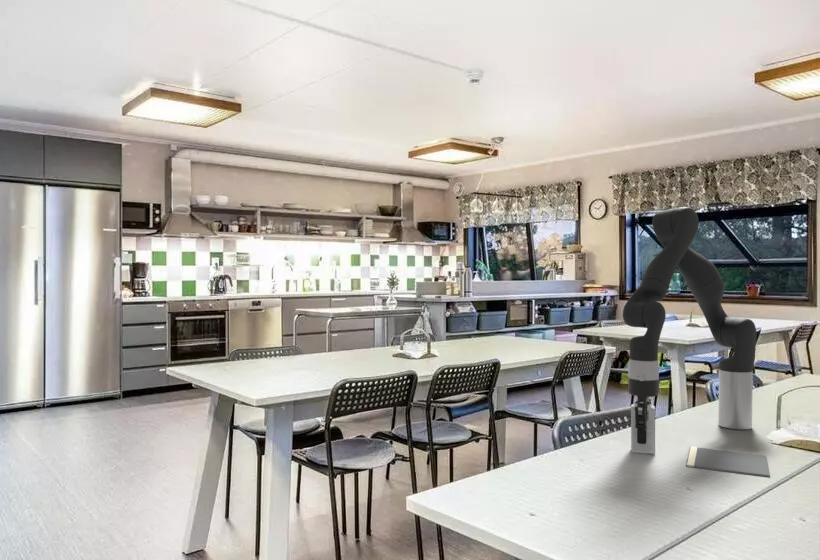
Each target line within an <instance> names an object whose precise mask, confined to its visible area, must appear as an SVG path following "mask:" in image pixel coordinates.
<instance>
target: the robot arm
mask: <svg viewBox="0 0 820 560" xmlns="http://www.w3.org/2000/svg"><path fill="white" fill-rule="evenodd" d="M651 220H652V221H651V225H652V229H653V232H654V234H655V237H656V238H657V240H658V242H659V243H660V244H661V245H662V247H663V249H662V250H661V251H660V252H659V253H658V254H657V255H656V256H655V257H654V258H653V259H652V260H651V262H650V263H649V265H648V266H647V267H646V269H645V271H644V274H643V277H642V279H641V281H640V285H639V286H638V287H637V288H636V290H635V291H634V292H633V294H631V296H630V297H629V298H628V300H627V301H626V302H625V304H624V307H623V310H622V319H623V322H624V323H625V324H626V325H627V326H628V327H632V328H645V329H646V331H645V334H643V335H639V336H634V337H632V338H630V341H629V362H628V371H627V372H628V378H627V379H628V383H627V385H628V387H627V389H628V390H627V391H628V394H629V395H632V396H636V397H637V399H636V400H635V402H634V404H633V405H634V407H635V423H636V425H635V427H636V428H637V443H639V444H646V430H647V421H649V410H650V408H651V406H653V402H652V399H651V398H652V397H656V396H658V395H659V392H660V391H659V390H660V389H659V388H660V387H659V385H660V384H659V383H660V381H659V380H660V379H659V377H660V376H659V375H660V371H659V370H660V369H659V343H660V342H659V341H660V337H661V335H662V330H663V327H664V324H665V321H666V316H667V315H666V309H665V306H664V305H663V304H662V303H661V302H660V301H663V299H665V298H666V295H667V293H668V290H669V287H670V284H671V282H672V280H673V279H672V278H673V276H674V274H675V271H676V269H677V268H678V271H679V272H680V274H681V275H682V277H683V279H684V281H685V283H686V286H687V287H688V289H689V291H690V292H691V294H692V295H693V297H694V299H695V300H696V302H697V304H698V306H699V308H700V309H701V312H702V314H703V315H704V318H705V320H706V323H707V325H708V328H709V330H710V333H711V335H712V337H713V339H714V341H715V342H716V343H717V345H719V346H722V347H726V348H733V350H734V351H733V354H732V355H731V356H729V357H726V358H721V359H720V360H719V363H718V422H717V423H718V424H717V425H718V426H719V427H722V428H726V429H730V430H731V429H732V430H751V429H753V390H754V389H753V385H754V384H753V379H754V378H753V371H754V370H753V369H754V364H755V359H756V346H757V328H756V327H757V326H756V325H755V322H754V321H753V320H751V318H745V317H732V316H731V317H730V316H729V315H727V313H726V312H725V310H724V307H723V306H722V300H723V296H724V292H725V282H724V280H723V278H722V275H720V273H719V270H718V268H717V267H716V265H715V264H714V262H712V261H711V260H709V259H708V258H706V257H705V256H703V255H702V254H701V253H699V252H697V251H695V250H694V249H693V248H691V247H690V245H691V244H692V242H693V241H694V239H695V237H696V236H697V233H698V229H699V228H700V227H699V225H700V223H699V217H698V214H697V212H696V210H695V209H694V208H693V207H690V206H682V207H675V208H670V209H665V210H661V211H658V212H656V213H655V214H654V215H653V217H652V219H651ZM646 414H647V416H646ZM639 421H643V423H644V424H639Z"/></svg>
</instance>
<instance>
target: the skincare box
mask: <svg viewBox="0 0 820 560" xmlns="http://www.w3.org/2000/svg"><path fill="white" fill-rule="evenodd" d="M634 405H635V404H631V405H630V425H631V427H630V440H631V441H630V443H631V445H630V448H631V449H630V450H631V453H634V454H635V453H636V454H648V455H656V406H655V405H652V406H651V408H650V410H649V421H647V430H646V444H639V443H637V428H636V427H635V425H636V423H635V407H634ZM646 416H647V414H646ZM639 424H644V423H643V421H639Z"/></svg>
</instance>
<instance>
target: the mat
mask: <svg viewBox="0 0 820 560" xmlns="http://www.w3.org/2000/svg"><path fill="white" fill-rule="evenodd" d="M685 467H687V468H694V469H701V468H702V469H701V470H710V471H718V472H726V473H735V474H742V475H750V476H757V477H758V476H760V477H767V478H771V471H770V468H769V463H768V457H767V455H766V454H758V453H748V452H742V451H732V450H725V449H724V450H722V449H713V448H704V447H698V446H689V451H688V455H687V458H686V463H685Z"/></svg>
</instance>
